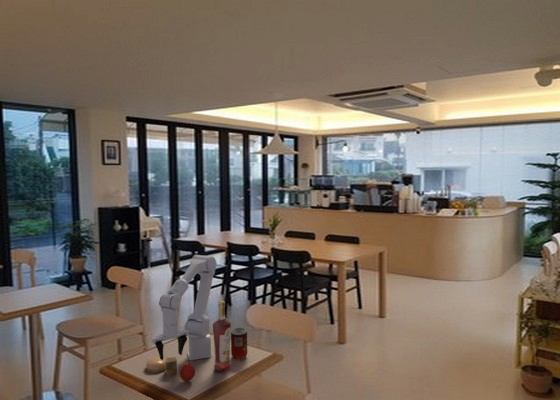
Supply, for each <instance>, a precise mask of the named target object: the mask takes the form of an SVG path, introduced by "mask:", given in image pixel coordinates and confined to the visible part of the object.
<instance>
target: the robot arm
mask: <svg viewBox="0 0 560 400" xmlns="http://www.w3.org/2000/svg"><path fill="white" fill-rule="evenodd" d="M189 263H190V264H189V266H188V268H187V269H186V270H185V272H184V274H183V275H182V277H181V278H178V279H176V280H175V282H174V283H173V285H171V288H169V289H168V291H167V292H165V293H163V294H162V295H161V296H160V299H159V301H158V306H159V307H160V308H161V309H160V312H162V333H161V334H159V335H156V336H152V337H151V343H152V344H153V345H155V346H156V349H157V352H158V355H159V356H160V359H161V360H163V356H164V347H165V345H164V344H163V342H164V341H168V340H172V339H177V347H178V348H177V349H178V350H177V351H178V352H177V353H178V355H180V356H182V355H183V351H184V347H185V345H186V343H187V341H188V351H187V353H186V354H187V357H188V360H189V361H195V360H200V359H201V360H202V359H208V358H212V344H211V343H212V341H211V335H210V333H209V332H210V321H211V320H210V318H209V317H208V316H207V314H206V313H207V308H208V303H209V299H210V294H211V289H212V283H213V278H214V276H215V274H216V269H217V260H216V258H215V257H214V256H213V255H210V256H209V255H202V254H201V255H199V254H194V255H193V256H192V258H191V259H190V261H189ZM197 274H198V275H199V276H200V280H199V285H198V289H197V294H196V299H195V302H194V303H195V304H194V309H193V312H192V313H190V314H189V315H188V316H187V320H186V321H185V323H184V327H183V328H184V329H181V330H179V326H178V325H179V324H178V308H179V307H180V306H181V301H182V298H183V296H184V294H185V293H186V292H187V290H188V289H189V283H191V281H192V280H193V279H194V278H195V276H196V275H197Z"/></svg>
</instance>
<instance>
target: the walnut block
mask: <svg viewBox="0 0 560 400" xmlns="http://www.w3.org/2000/svg"><path fill="white" fill-rule="evenodd" d="M165 374H166V377H168V376H170V377H171V376H175V375H178V360H177V356H172V357H167V358H166V370H165Z"/></svg>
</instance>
